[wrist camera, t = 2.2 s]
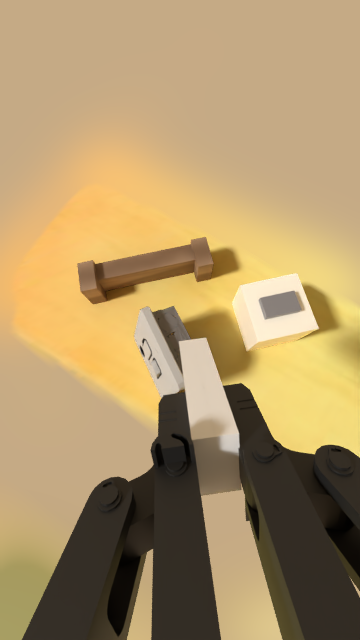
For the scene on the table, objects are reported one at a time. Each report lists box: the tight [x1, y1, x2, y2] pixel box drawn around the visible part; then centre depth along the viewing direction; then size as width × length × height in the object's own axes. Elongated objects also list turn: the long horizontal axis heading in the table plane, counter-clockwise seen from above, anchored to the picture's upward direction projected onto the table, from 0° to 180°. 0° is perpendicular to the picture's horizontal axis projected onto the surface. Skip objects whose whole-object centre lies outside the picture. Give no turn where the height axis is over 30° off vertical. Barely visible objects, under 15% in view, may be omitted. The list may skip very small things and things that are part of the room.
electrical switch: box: [134, 306, 191, 398], centre depth 30 cm, size 9×5×9 cm, turn 26°
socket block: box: [232, 273, 319, 352], centre depth 33 cm, size 7×7×7 cm
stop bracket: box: [77, 237, 214, 304], centre depth 36 cm, size 4×17×4 cm, turn 103°
